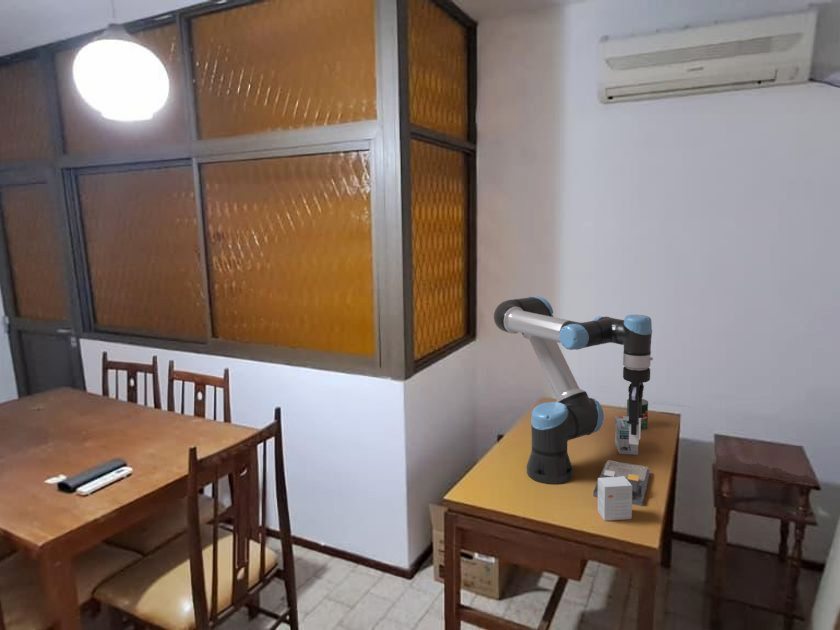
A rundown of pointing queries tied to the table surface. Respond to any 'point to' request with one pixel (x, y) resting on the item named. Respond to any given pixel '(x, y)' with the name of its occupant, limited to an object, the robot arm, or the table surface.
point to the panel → (625, 470)
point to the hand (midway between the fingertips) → (634, 440)
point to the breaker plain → (609, 473)
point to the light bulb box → (623, 436)
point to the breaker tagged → (634, 483)
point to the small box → (614, 498)
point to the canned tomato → (644, 412)
